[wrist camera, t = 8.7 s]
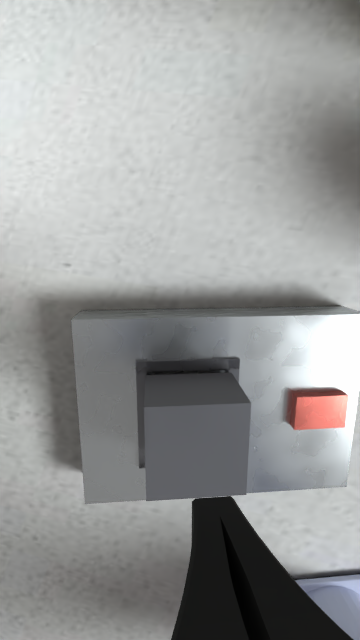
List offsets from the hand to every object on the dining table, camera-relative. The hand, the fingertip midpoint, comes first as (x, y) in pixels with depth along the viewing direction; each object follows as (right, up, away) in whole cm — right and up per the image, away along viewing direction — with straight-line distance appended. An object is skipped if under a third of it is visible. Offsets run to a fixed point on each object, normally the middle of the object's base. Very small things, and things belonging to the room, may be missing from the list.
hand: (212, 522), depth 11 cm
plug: (-1, +2, +10) cm, 10 cm away
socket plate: (+1, +2, +10) cm, 10 cm away
